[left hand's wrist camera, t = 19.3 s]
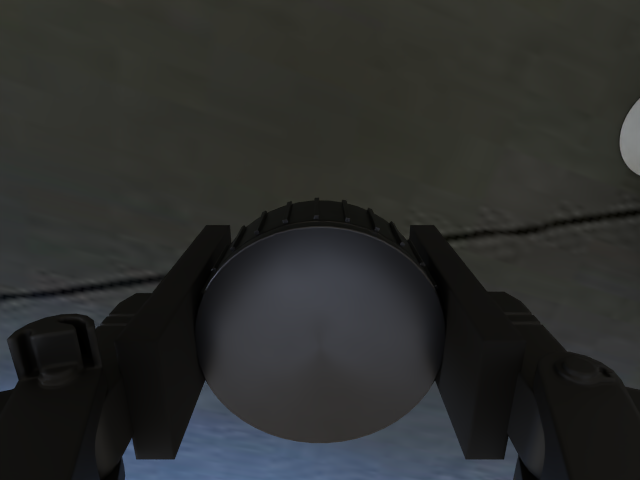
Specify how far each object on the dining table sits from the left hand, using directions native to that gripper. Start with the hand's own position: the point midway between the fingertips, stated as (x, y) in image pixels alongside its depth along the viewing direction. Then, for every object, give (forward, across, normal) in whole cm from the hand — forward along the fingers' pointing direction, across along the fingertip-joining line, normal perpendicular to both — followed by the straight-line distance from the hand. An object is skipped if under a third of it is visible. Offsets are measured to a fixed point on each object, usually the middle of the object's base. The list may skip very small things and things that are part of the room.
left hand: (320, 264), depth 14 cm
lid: (-4, 0, 0) cm, 4 cm away
